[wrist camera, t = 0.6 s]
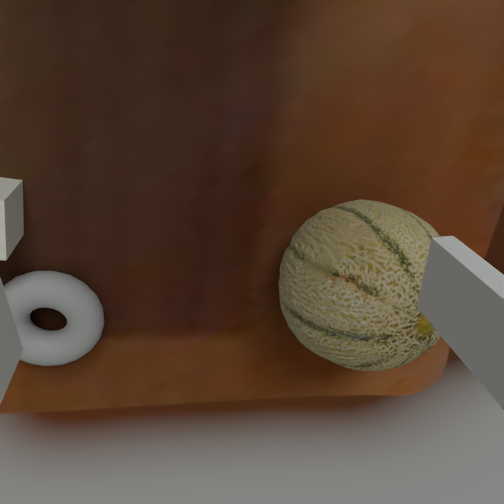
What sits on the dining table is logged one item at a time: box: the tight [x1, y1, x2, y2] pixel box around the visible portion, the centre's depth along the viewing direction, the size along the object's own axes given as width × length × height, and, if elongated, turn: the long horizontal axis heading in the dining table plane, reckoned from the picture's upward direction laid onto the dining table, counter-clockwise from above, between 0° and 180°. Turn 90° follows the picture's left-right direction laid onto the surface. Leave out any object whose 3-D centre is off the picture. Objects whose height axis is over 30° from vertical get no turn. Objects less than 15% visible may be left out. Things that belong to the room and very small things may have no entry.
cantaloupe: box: [278, 200, 441, 371], centre depth 39 cm, size 15×15×15 cm
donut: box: [3, 271, 104, 366], centre depth 42 cm, size 10×4×10 cm
